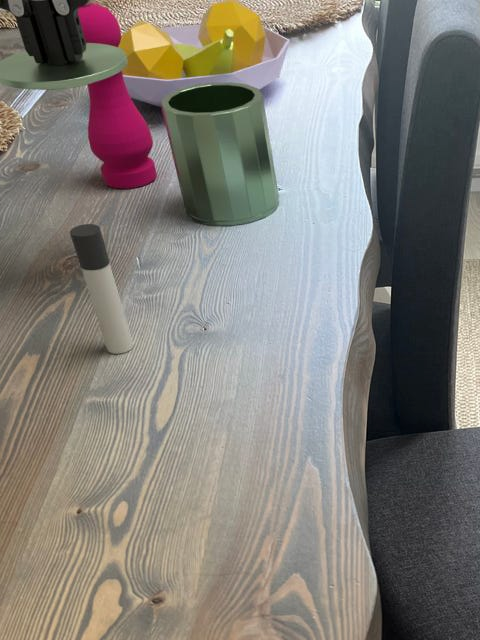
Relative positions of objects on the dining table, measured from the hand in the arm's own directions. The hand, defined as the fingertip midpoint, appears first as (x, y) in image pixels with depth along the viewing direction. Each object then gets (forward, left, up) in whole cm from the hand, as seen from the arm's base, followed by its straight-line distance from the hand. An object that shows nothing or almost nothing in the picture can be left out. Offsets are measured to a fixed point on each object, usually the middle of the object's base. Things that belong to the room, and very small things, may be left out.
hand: (59, 59), depth 91 cm
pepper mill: (-5, +25, -20) cm, 32 cm away
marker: (+4, -16, -20) cm, 26 cm away
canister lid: (0, 0, -1) cm, 1 cm away
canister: (+9, +16, -20) cm, 27 cm away
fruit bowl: (-2, +55, -20) cm, 59 cm away
